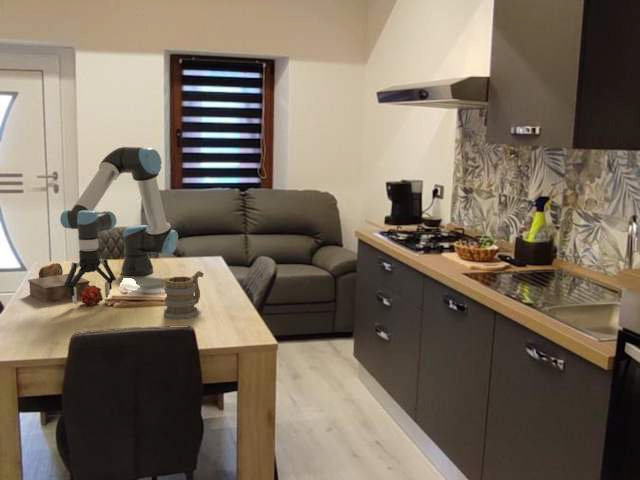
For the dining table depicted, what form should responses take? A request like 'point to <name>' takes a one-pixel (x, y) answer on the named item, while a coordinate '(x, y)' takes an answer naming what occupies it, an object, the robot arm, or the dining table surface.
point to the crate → (54, 288)
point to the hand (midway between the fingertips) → (91, 300)
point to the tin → (50, 270)
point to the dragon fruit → (91, 295)
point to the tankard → (182, 296)
